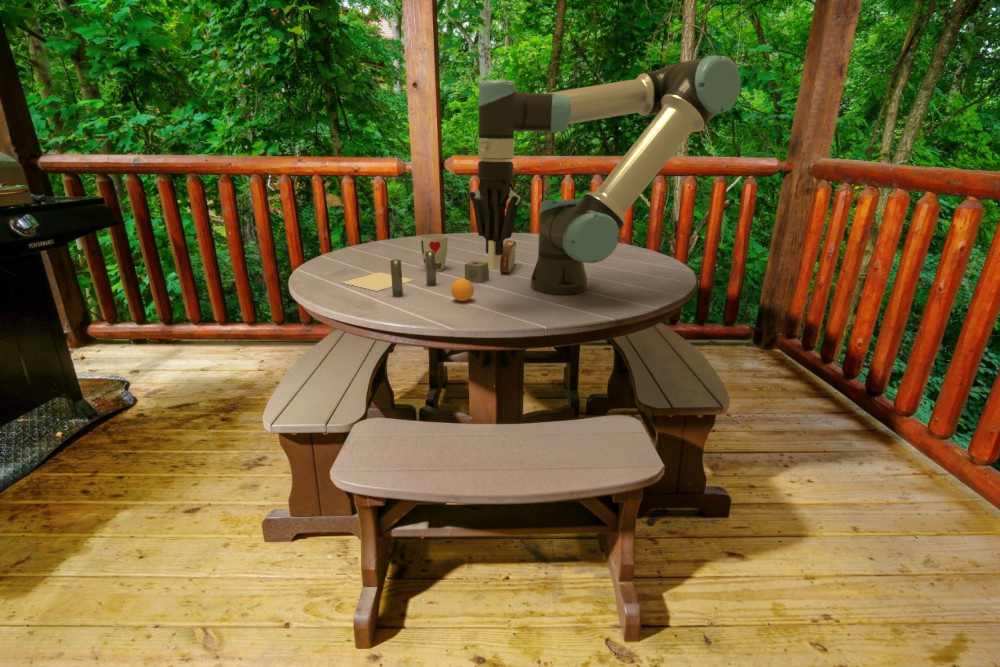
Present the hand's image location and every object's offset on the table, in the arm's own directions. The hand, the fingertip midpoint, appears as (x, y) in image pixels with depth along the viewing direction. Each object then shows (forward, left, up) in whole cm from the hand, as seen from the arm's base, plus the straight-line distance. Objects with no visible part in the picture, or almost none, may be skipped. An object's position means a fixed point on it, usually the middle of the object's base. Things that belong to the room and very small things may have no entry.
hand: (494, 268), depth 121 cm
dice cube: (+19, -18, -10) cm, 28 cm away
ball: (+10, 0, -7) cm, 12 cm away
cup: (+37, -20, -10) cm, 43 cm away
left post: (+26, +6, -10) cm, 28 cm away
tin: (+19, -33, -10) cm, 40 cm away
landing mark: (+40, 0, -10) cm, 41 cm away
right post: (+26, -7, -10) cm, 28 cm away
